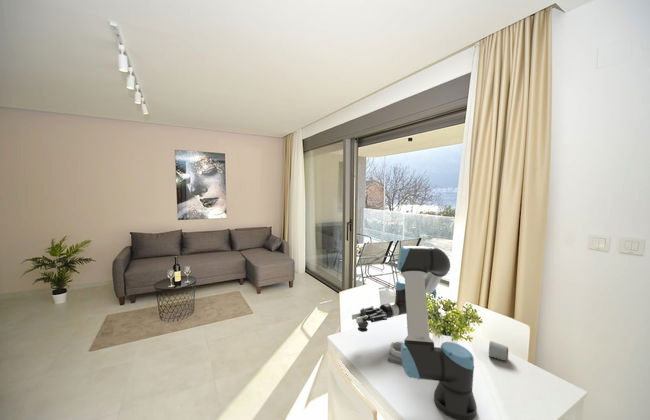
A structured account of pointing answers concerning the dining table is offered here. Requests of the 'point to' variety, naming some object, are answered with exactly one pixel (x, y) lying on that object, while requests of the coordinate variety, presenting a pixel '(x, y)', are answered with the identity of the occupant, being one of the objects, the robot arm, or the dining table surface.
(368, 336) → the dining table surface
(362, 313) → the dark figurine
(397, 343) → the housing
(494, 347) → the grey rounded block
